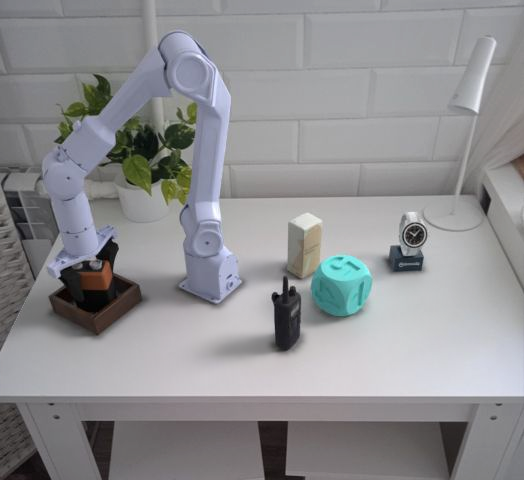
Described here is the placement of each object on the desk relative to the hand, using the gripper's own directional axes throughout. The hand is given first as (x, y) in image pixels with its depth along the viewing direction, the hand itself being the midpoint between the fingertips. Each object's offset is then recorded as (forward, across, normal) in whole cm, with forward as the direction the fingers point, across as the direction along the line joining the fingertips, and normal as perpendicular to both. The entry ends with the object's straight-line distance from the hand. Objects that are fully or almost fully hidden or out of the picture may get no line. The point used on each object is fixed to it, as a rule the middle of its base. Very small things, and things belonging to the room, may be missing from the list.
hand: (93, 288), depth 112 cm
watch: (+4, -42, +42) cm, 60 cm away
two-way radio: (+4, -11, +34) cm, 36 cm away
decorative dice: (+4, -25, +37) cm, 45 cm away
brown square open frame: (+4, 0, 0) cm, 4 cm away
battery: (+4, 0, 0) cm, 4 cm away
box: (+4, -30, +26) cm, 40 cm away
